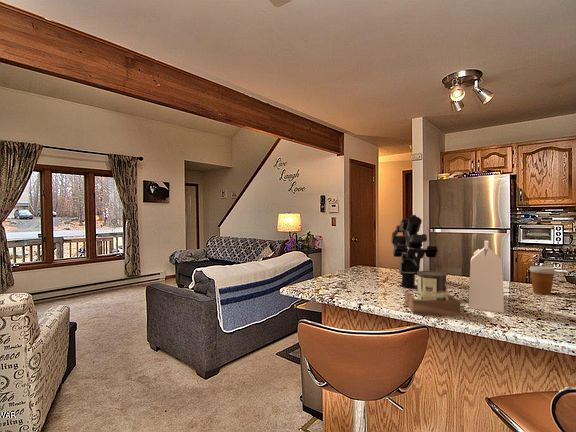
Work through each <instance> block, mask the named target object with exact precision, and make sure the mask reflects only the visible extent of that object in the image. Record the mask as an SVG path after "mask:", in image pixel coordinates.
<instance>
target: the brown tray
mask: <svg viewBox="0 0 576 432" xmlns="http://www.w3.org/2000/svg"><path fill="white" fill-rule="evenodd" d="M404 304H405V305H406V307H407V308H408V309H409V310H410V312H411V313H412V314H413V315H434V316H435V315H436V316H455V317H456V316H457V317H458V316H459V317H460V316H461V301H460V300H458V299H457V298H456V297H455V296H453V295H452V294H451V293H448V292H447V291H446V300H419V299H418V298H417V299H416V298H415V297H414V296H413V295H412V294H411V293H410V292H409V291H408V290H404Z"/></svg>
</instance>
